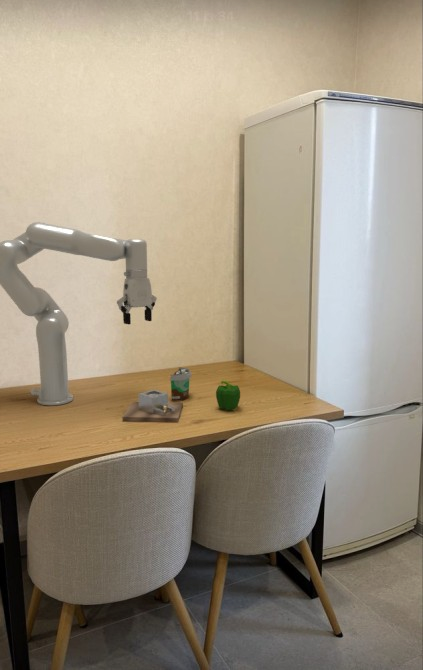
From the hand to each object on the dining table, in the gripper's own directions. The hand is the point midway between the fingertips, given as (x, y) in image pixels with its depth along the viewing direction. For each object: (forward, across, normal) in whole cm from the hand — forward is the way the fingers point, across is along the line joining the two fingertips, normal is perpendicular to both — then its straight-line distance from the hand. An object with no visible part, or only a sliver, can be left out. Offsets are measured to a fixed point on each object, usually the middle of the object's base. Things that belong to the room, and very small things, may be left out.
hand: (137, 322), depth 190 cm
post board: (+28, -8, -17) cm, 34 cm away
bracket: (+27, -8, -19) cm, 34 cm away
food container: (+28, +11, -12) cm, 33 cm away
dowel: (+27, -8, -23) cm, 36 cm away
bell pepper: (+28, +13, -32) cm, 45 cm away
